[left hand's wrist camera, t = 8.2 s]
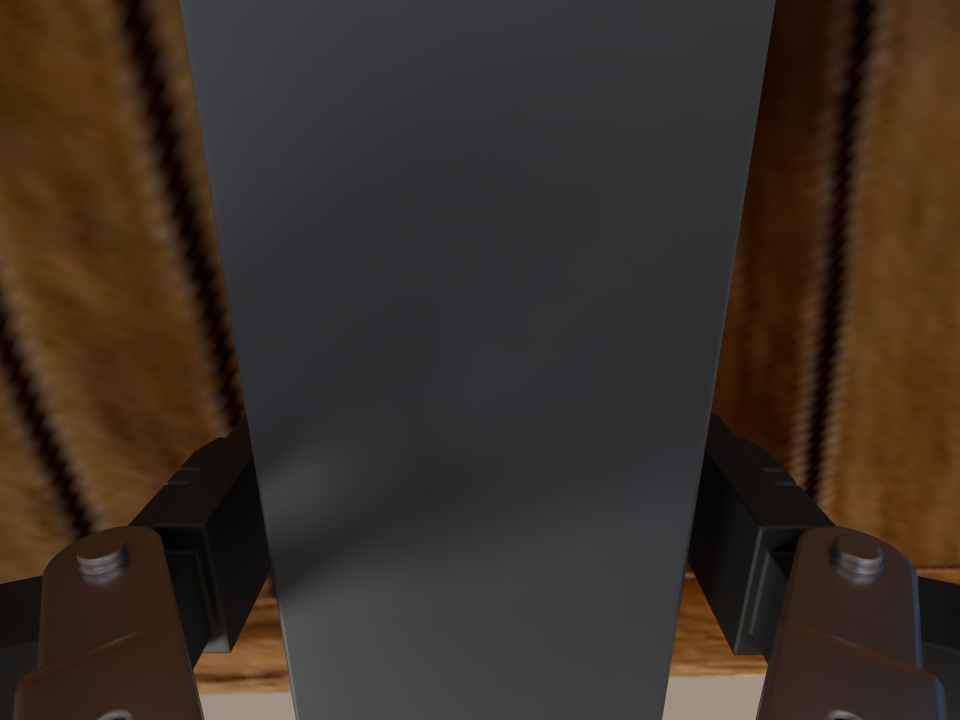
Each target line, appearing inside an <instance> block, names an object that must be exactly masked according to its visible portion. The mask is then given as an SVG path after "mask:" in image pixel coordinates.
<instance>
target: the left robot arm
mask: <svg viewBox="0 0 960 720" xmlns="http://www.w3.org/2000/svg"><path fill="white" fill-rule="evenodd" d="M687 560H688V562H689V564H690V566H691V568H692V570H693V572H694V574H695V576H696V578H697V581H698V583H699V585H700V587H701V589H702V591H703V593H704V595H705V597H706V599H707V601H708V603H709V605H710V607H711V609H712V611H713V613H714V615H715V617H716V619H717V621H718V623H719V626H720V628H721V630H722V632H723V634H724V636H725V638H726V640H727V642H728V644H729V646H730V648H731V650H732V652H733V654H734V655H763V656H764V658H765V660H766V662H767V664H768V668H767V673H766V677H765V681H764V685H763V690H762V694H761V698H760V703H759V707H758V711H757V716H756V720H960V585H958V584H953V583H948V582H943V581H938V580H933V579H929V578H924V577H920V576H917V573H916V570H915V568H914V567H913V565H912V564H911V563H910V561H909V560H908V559H907V558H906V557H905V556H904V555H903V554H902V553H900V552H899V551H898V550H896V549H895V548H894V547H892V546H890V545H889V544H887V543H886V542H884V541H882V540H880V539H878V538H876V537H873V536H871V535H869V534H866V533H863V532H860V531H857V530H853V529H849V528H844V527H838V526H835V524H834V523H833V522H832V521H831V520H830V519H829V518H828V517H827V516H826V515H825V513H824V512H823V511H822V510H821V509H820V508H819V507H818V506H817V505H816V504H815V503H814V501H813V500H812V499H811V498H810V497H809V496H808V495H807V494H806V493H805V492H804V490H803V489H802V488H801V487H800V486H796V482H795V481H794V479H793V478H792V477H791V476H790V475H789V474H788V473H787V472H784V468H783V467H782V466H781V465H780V464H779V463H778V462H777V461H776V460H775V459H774V458H773V456H772V455H771V454H770V453H769V452H767V451H766V450H764V449H762V448H760V447H759V446H757V445H755V444H754V443H752V442H750V441H749V440H747V439H745V438H737V437H736V436H735V435H734V434H733V432H732V431H731V430H730V429H729V428H728V427H727V425H726V424H725V423H724V422H723V421H722V419H721V418H720V417H719V416H718V415H717V414H715V413H710V419H709V425H708V432H707V438H706V444H705V451H704V457H703V463H702V470H701V476H700V482H699V489H698V495H697V501H696V508H695V514H694V520H693V527H692V533H691V539H690V546H689V552H688V558H687ZM270 570H271V562H270V556H269V550H268V544H267V538H266V532H265V525H264V519H263V513H262V507H261V501H260V495H259V488H258V482H257V476H256V470H255V464H254V457H253V451H252V445H251V439H250V433H249V427H248V420H247V414H246V415H245V416H244V417H243V418H242V419H241V420H240V422H239V423H238V424H237V425H236V426H235V428H234V429H233V430H232V431H231V432H230V434H229V435H228V436H227V437H226V438H217V439H215V440H213V441H212V442H210V443H208V444H207V445H205V446H203V447H202V448H200V449H198V450H197V451H195V452H194V453H193V454H192V455H191V456H190V457H189V459H188V460H187V461H186V462H185V463H184V464H183V465H182V466H181V467H180V471H177V472H176V473H175V474H174V475H173V476H172V477H171V479H170V480H169V481H168V485H164V486H163V487H162V489H161V490H160V491H159V492H158V493H157V494H156V495H155V496H154V497H153V498H152V500H151V501H150V502H149V503H148V504H147V505H146V506H145V507H144V508H143V510H142V511H141V512H140V513H139V514H138V515H137V516H136V517H135V518H134V520H133V521H132V522H131V523H130V524H129V525H128V526H122V527H116V528H111V529H107V530H103V531H100V532H97V533H94V534H91V535H89V536H87V537H84V538H82V539H80V540H78V541H76V542H74V543H73V544H71V545H70V546H68V547H66V548H65V549H64V550H62V551H61V552H60V553H58V554H57V555H56V556H55V557H54V558H53V559H52V560H51V561H50V563H49V564H48V565H47V567H46V568H45V570H44V573H43V576H38V577H33V578H28V579H23V580H18V581H14V582H9V583H4V584H0V720H204V716H203V711H202V707H201V703H200V698H199V694H198V690H197V685H196V681H195V677H194V673H193V669H194V667H195V665H196V663H197V661H198V660H199V658H200V656H201V654H202V653H231V651H232V649H233V647H234V645H235V643H236V641H237V639H238V637H239V635H240V632H241V630H242V628H243V626H244V624H245V622H246V620H247V618H248V616H249V614H250V612H251V610H252V608H253V605H254V603H255V601H256V599H257V597H258V595H259V593H260V591H261V589H262V587H263V585H264V583H265V581H266V578H267V576H268V574H269V572H270Z"/></svg>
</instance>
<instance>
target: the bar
mask: <svg viewBox="0 0 960 720" xmlns="http://www.w3.org/2000/svg"><path fill="white" fill-rule="evenodd" d="M179 1H180V7H181V13H182V20H183V26H184V32H185V38H186V44H187V50H188V57H189V63H190V69H191V75H192V81H193V87H194V94H195V100H196V106H197V112H198V118H199V124H200V131H201V137H202V143H203V149H204V155H205V161H206V168H207V174H208V180H209V186H210V192H211V198H212V205H213V211H214V217H215V223H216V229H217V235H218V242H219V248H220V254H221V260H222V266H223V272H224V279H225V285H226V291H227V297H228V303H229V309H230V316H231V322H232V328H233V334H234V340H235V346H236V353H237V359H238V365H239V371H240V377H241V383H242V390H243V396H244V402H245V408H246V414H247V420H248V427H249V433H250V439H251V445H252V451H253V457H254V464H255V470H256V476H257V482H258V488H259V495H260V501H261V507H262V513H263V519H264V525H265V532H266V538H267V544H268V550H269V556H270V562H271V569H272V575H273V581H274V587H275V593H276V599H277V606H278V612H279V618H280V624H281V630H282V636H283V643H284V649H285V655H286V661H287V667H288V673H289V680H290V686H291V692H292V698H293V704H294V710H295V716H296V720H662V716H663V710H664V704H665V697H666V691H667V685H668V678H669V672H670V666H671V659H672V653H673V647H674V641H675V634H676V628H677V622H678V615H679V609H680V603H681V596H682V590H683V584H684V577H685V571H686V565H687V558H688V552H689V546H690V539H691V533H692V527H693V520H694V514H695V508H696V501H697V495H698V489H699V482H700V476H701V470H702V463H703V457H704V451H705V444H706V438H707V432H708V425H709V419H710V413H711V406H712V400H713V394H714V388H715V381H716V375H717V369H718V362H719V356H720V350H721V343H722V337H723V331H724V324H725V318H726V312H727V305H728V299H729V293H730V286H731V280H732V274H733V267H734V261H735V255H736V248H737V242H738V236H739V229H740V223H741V217H742V210H743V204H744V198H745V191H746V185H747V179H748V172H749V166H750V160H751V153H752V147H753V141H754V134H755V128H756V122H757V116H758V109H759V103H760V97H761V90H762V84H763V78H764V71H765V65H766V59H767V52H768V46H769V40H770V33H771V27H772V21H773V14H774V8H775V2H776V0H179Z"/></svg>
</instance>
